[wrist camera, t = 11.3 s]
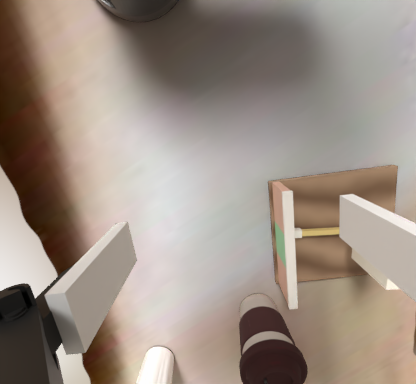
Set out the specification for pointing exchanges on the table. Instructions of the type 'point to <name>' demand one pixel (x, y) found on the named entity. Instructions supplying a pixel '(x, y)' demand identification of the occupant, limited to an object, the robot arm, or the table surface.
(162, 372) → the cup
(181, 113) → the table surface
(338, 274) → the board
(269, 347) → the coffee cup
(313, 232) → the white block with rod
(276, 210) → the scale wall
